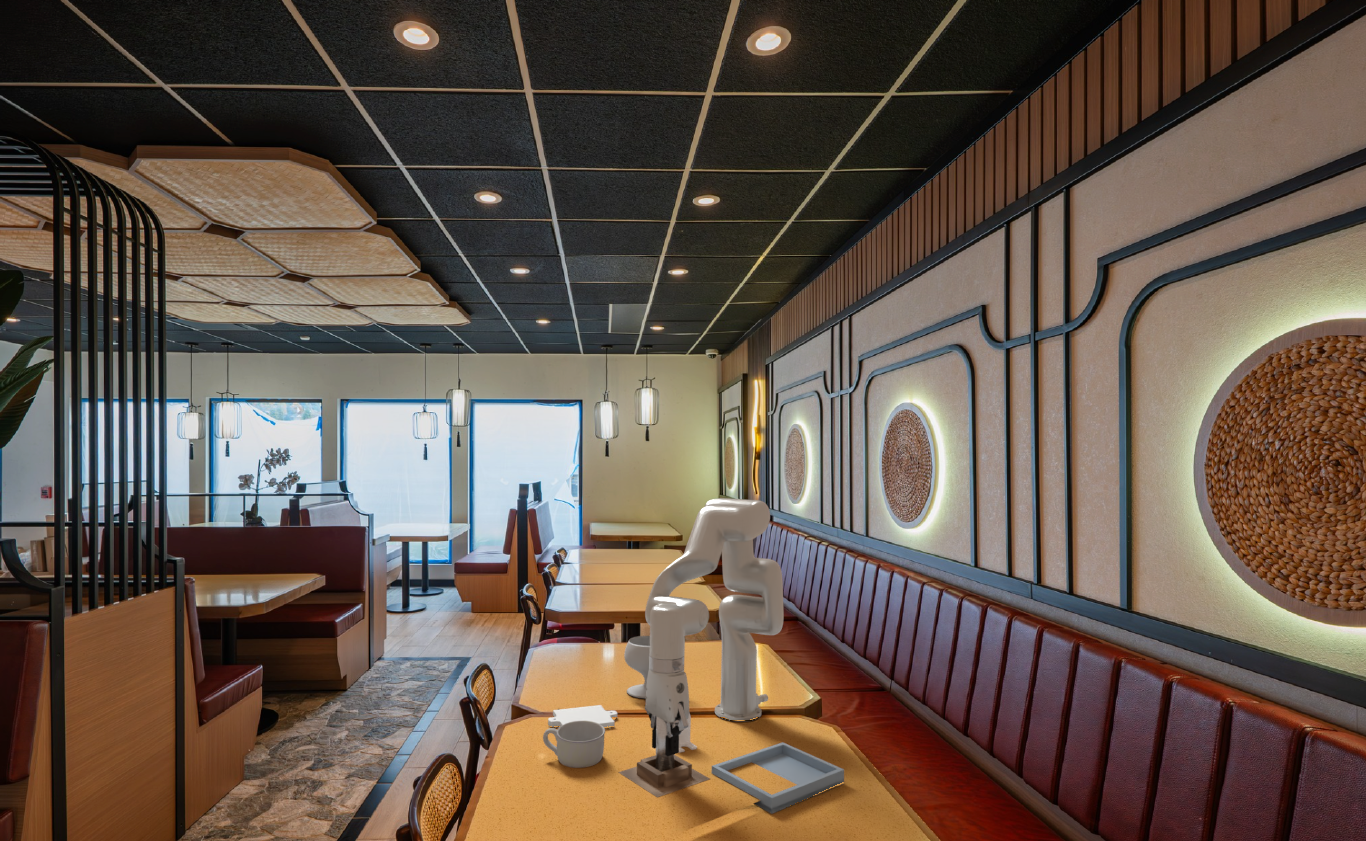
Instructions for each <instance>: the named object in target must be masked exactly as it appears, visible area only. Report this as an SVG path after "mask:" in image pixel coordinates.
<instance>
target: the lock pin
mask: <svg viewBox="0 0 1366 841" xmlns="http://www.w3.org/2000/svg"><path fill="white" fill-rule="evenodd" d="M674 727H675V724H672V729H673V728H674ZM666 736H668V734H667V723H666V721H664V720H662V719H661V718H659V717H656V748H655V755H656V769H657V770H659V771H661V772H664V771H667V770H670V769H673V768H674V757H675V755H676V754H674V755H671V756H666V755H665V739H666Z"/></svg>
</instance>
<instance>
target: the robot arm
mask: <svg viewBox="0 0 1366 841" xmlns="http://www.w3.org/2000/svg"><path fill="white" fill-rule="evenodd" d="M770 519H771V512H770V508H769V506H768V505H767V503H766V502H764V501H762V500H759V499H758V500H757V499H744V498H743V499H741V498H739V499H738V498H726V497H725V498H723V497H719V498H713V499H709V500H708V501H706V503H705V504H704V507H702V508H701V509H699V511H698V513H697V514H696V518H695V520H694V522H693V526H692V529H691V532H690V534H689V537H688V541H687V544H686V546H685V549H684V553H683V554H682V555H681V556H680V557H678V558H677V559H676V560H674V561H672V562H671V563H670V564H669V565H668V566H667V567H666V568H664V569H663V570H662V571H661V572H660V574H658V575H657V577H656V578H655V581H654V582H653V584H652V587H651V590H650V593H649V595H648V599H647V602H646V605H645V612H644V616H645V621H646V623H647V625H648V626H649V636H650V655H649V671H648V677H647V686H646V698H645V706H644V709H645V711H646V714H647V715H648V718H649V721H650V728H651V732H652V734H651V748H652V749H654V750H656V717H659V718H661V719H662V720H664V721H666V723H667V734H668V736H666V739H665V755H666V756H671V755H674V754H675V755H677V754H678V753H679V735H680V734H681V732H682V731H683V730H684V729H686V728H688V722H687V719H688V718H689V713H690V697H689V696H690V694H689V693H690V692H689V683H688V677H687V673H686V672H685V653H686V652H685V648H686V646H685V644H686V643H685V642H686V639H685V638H686V636H691V635H695V634H699V633H701V632H702V631H703V630H704V629H705V628H706V626H707V625H708V622H709V619H710V613H709V608H708V606H707V605H706V604H705V602H703V601H702V600H700V599H695V598H687V597H681V596H680V597H679V596H672V595H671V594H672V592H674V590H676V588H679V586H681V585H683V584H684V583H686V582H688V581H689V582H690V581H692V580H694V579H695V580H696V579H698V578H701V577H703V576H707V575H709V574H711V573H712V572H715V570H716V569H718V565H719V562H720V559H721V560H722V562H721V563H722V564H721V565H722V566H721V567H722V579H723V585H724V587H725V588H726V589H727V590H729V591H730V592H734V593H735V592H736V593H742V594H743V595H742V594H731V595H727V596H725V597H724V598H722V599H721V600H720V603H719V606H718V617H719V624H720V632H721V633H720V634H721V664H720V665H721V668H720V669H721V670H720V672H721V673H720V703H719V704H717V705H716V706H715V707H714V713H715V715H716V716H717V717H719V718H720V717H725V718H727V719H729V720H728V721H730V720H750V719H753V718H756V717H759V718H761V717H762V709H761V707H760V706H759V705H760V704H762V703H765V702H768V701H769V696H768V694H766V693H764V694H760V695H758V693H757V657H758V656H757V655H758V651H757V650H758V649H757V646H756V645H757V644H756V643H755V640H754V638H753V636H752V634H757V635H763V636H764V635H765V636H775V635H778V634H779V633H780V632H781V631H782V628H783V625H784V617H785V616H784V613H785V612H784V591H783V590H784V588H783V585H784V584H783V573H782V569H781V566H780V564H779V563H778V562H777V561H776V560H773V559H771V558H763V557H755V554H754V541H753V540H754V539H756V538H757V537H759V536H761V535H762V534H764V533H765V532H766V531H767V528H768V527H769V525H770ZM744 594H752V595H744ZM670 595H671V596H670ZM753 595H760V596H761V597H760V596H753ZM672 724H675V727H674V728H673V729H672Z"/></svg>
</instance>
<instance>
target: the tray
mask: <svg viewBox="0 0 1366 841" xmlns="http://www.w3.org/2000/svg"><path fill="white" fill-rule="evenodd" d="M750 763H753V764H754V765H757V766H759V767H761V768H762V769H764V770H766V771H768V772H770V773H773V774H775V775H777V776H778V777H780V778H783V779H785V780H787V781H789V782H791V783H793V784H795V785H794V786H791V787H788V788H785V789H783V790H780V791H778V792H775V793H772V794H771V793H770V792H767V791H765V790H764V789H762V788H760V787H758V786H756V785H754V784H752V783H751V782H748V781H746V780H744V779H742V778H741V777H740V776H737V775H736V774H733V773H732V772H730V771H731V770H732V769H733V770H734V769H735V768H739V767H742V766H745V765H748V764H750ZM711 774H712V775H714V776H715V777H718V778H719V779H721V780H723V781H725V782H727V783H728V784H730V785H731V786H733V787H736V788H738V789H740V790H741V791H743V792H745V793H746V794H748V795H751V797H754V798H756V799H758V801H756V802H754V803H752V804H753V805H755V806H757V807H759V808H761V809H762V810H764V811H766V813H767V812H768V813H769V814H771V815H773V814H775V813H777V812H780V811H782V810H784V809H787V808H789V807H791V806H790V805H792V806H794V805H796V804H795V803H797V802H799V803H801V802H803V801H802V800H804V799H806V800H808V799H807V798H809V797H811V798H813V797H814V796H813V795H815V794H818V793H819V792H822V791H824V790H826V789H829V788H830V787H833V786H835V785H837V784H840V783H842V782H844V783H845V769H844V768H841V767H840V766H837V765H835V764H833V763H830V762H829V761H826V760H824V759H821V758H819V757H817V756H814V755H812V754H810V753H808V752H806V751H804V750H801V749H799V748H797V747H795V746H792V745H789V744H787V743H785V742H783V741H782V742H780V743H776V744H774V745H771V746H768V747H764V748H761V749H759V750H756V751H752V752H749V753H746V754H743V755H741V756H737V757H735V758H732V759H728V760H726V761H722V762H719V763H716V764H714V765H711ZM818 795H819V794H818ZM812 796H813V797H812ZM809 799H810V798H809ZM804 801H805V800H804ZM797 804H798V803H797ZM786 807H787V808H786Z"/></svg>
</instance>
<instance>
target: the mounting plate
mask: <svg viewBox="0 0 1366 841" xmlns="http://www.w3.org/2000/svg"><path fill="white" fill-rule="evenodd" d="M553 716H554V717H553ZM612 717H617V718H618V712H617V710H615V709H614V710H612V709H611V710H605V708H604V707H603V705H602V704H597V705H589V706H579V707H571V708H561V709H553V710H552V717H551V716H550V717H548V719H547V720H548V722H547V725H549V726H552V727H554V726H560V727H561V726H562V725H564V724H566V723H569V722H573V721H592V722H596V723H598V724H600V725H602V726H603V727H607V726H608V727H609V726H614V727H616V726H615V720H613V719H612ZM549 726H548V727H549Z"/></svg>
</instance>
